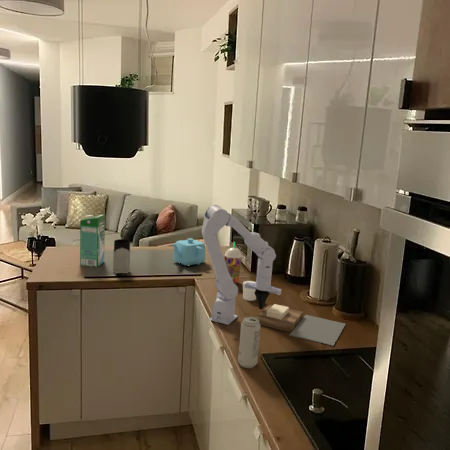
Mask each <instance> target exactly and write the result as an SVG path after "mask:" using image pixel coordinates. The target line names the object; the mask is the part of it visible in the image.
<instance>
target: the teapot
mask: <svg viewBox="0 0 450 450" xmlns="http://www.w3.org/2000/svg"><path fill="white" fill-rule="evenodd" d="M170 245H171V246H172V247H173V257H172V258H173V261H174V262H176V263H178V264H180V263H181V264H180V265H184V266H186V265H191V266H193V265H196V264H197V265H196V266H199V265H201V264H202V263H203V264H204V263H205V261H206V245H205V242H204V241H200V240H196V239H193V238H192V237H190V238H188V237H187V239H184V240H183V239H182V240H181V239H180V240H177V241H176V242H175V243H170Z"/></svg>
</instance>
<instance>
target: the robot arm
mask: <svg viewBox="0 0 450 450" xmlns="http://www.w3.org/2000/svg"><path fill="white" fill-rule="evenodd" d="M225 226H226V227H230V228H232V229H233V230H235V231H236V232H237V233H238V234H239V235H240V236H241V237H242V238H244V244H245V245H246V246H247V247H248V248H249V249H250V250H251V251H252V252H254V253H255V255H256V256H257V257H258V258H257V267H256V268H257V269H256V278H255V279H256V280H255V282H256V283H250V282H246V283H245V288H251V289H255V290H256V291H255V292H254V294H255V296H256V301H257V305H258V309H259V310H264V309H265V308H264V307H265V305H266V302H267V299H268V297H269V296H270V294H275V295H277V296H281V294H282V288H278V287H275V286H272V285H271V283H272V275H273V274H272V273H273V262H274V260H276V257H277V254H276V252H275V249H274V248H273V247H271V246H269V242H268V241H265V240H264V239H263V238H262V237H261V234H260V233H258V232H255V231H249V230H248V228H247V227H245V225H244V224H243V223H242V222H241V221H239V219H238V218H237V217H235V216H234V215H232V214H231V213H229V212H228V211H227V210H226V209H224V208H222V207H221V206H219V205H218V204H211V205H210V206H209V207H208V208H207V209H206V210H205V212H204V213H203V223H202V225H201V227H202V228H201V235H202V239H203V243H204V244H205V249H206V250H207V253H208V256H209V259H210V263H211V265H212V267H213V271H214V273H215V288H216V289H217V292H216V299H215V301H214V302H213V303H212V308H211V309H212V310H211V317H210V318H209V321H211V322H216V323H220V324H223V325H227V326H228V325H230V324H231V323H232V322H233V321H234V320H236V319H237V318H238V317H239V316H238V315H237V314H235V309H236V308H235V307H236V297H237V296H238V293H239V287H238V286H237V284H234V283H233V280H232V278H231V276H230V274H229V272H228V269H227V266H226V263H225V260H224V255H223V254H224V253H223V252H222V249H221V246H220V243H219V239H218V236H217V234H218V233H219V231H220V230H222V229H223V228H224V227H225Z"/></svg>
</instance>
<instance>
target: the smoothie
mask: <svg viewBox="0 0 450 450" xmlns="http://www.w3.org/2000/svg"><path fill="white" fill-rule="evenodd" d="M235 245H236V241H233V244H232V247H229V248H228V249H227V250H226V251H225V253H223V254H224V255H223V257H224V260H225V263H226V266H227V269H228V272H229V274H230V276H231V278H232V280H233V283H234V284H235V285H237V284H238V282H239V280H240V273H241V265H242V260H243V254H242V252H241V250H240V249H239V248H237V247H235Z"/></svg>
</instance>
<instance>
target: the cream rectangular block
mask: <svg viewBox="0 0 450 450" xmlns="http://www.w3.org/2000/svg"><path fill="white" fill-rule="evenodd" d="M272 305H273V306H272V307H271V308H270V309H269V310H268V311H267V315H266V316H268V317H272V318H277V319H282V318H283V317H284V316H285V315H286V314H287V313H288V311H289V309H290V307H289V306H286V305H280V304H277V303H274V304H272Z"/></svg>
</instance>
